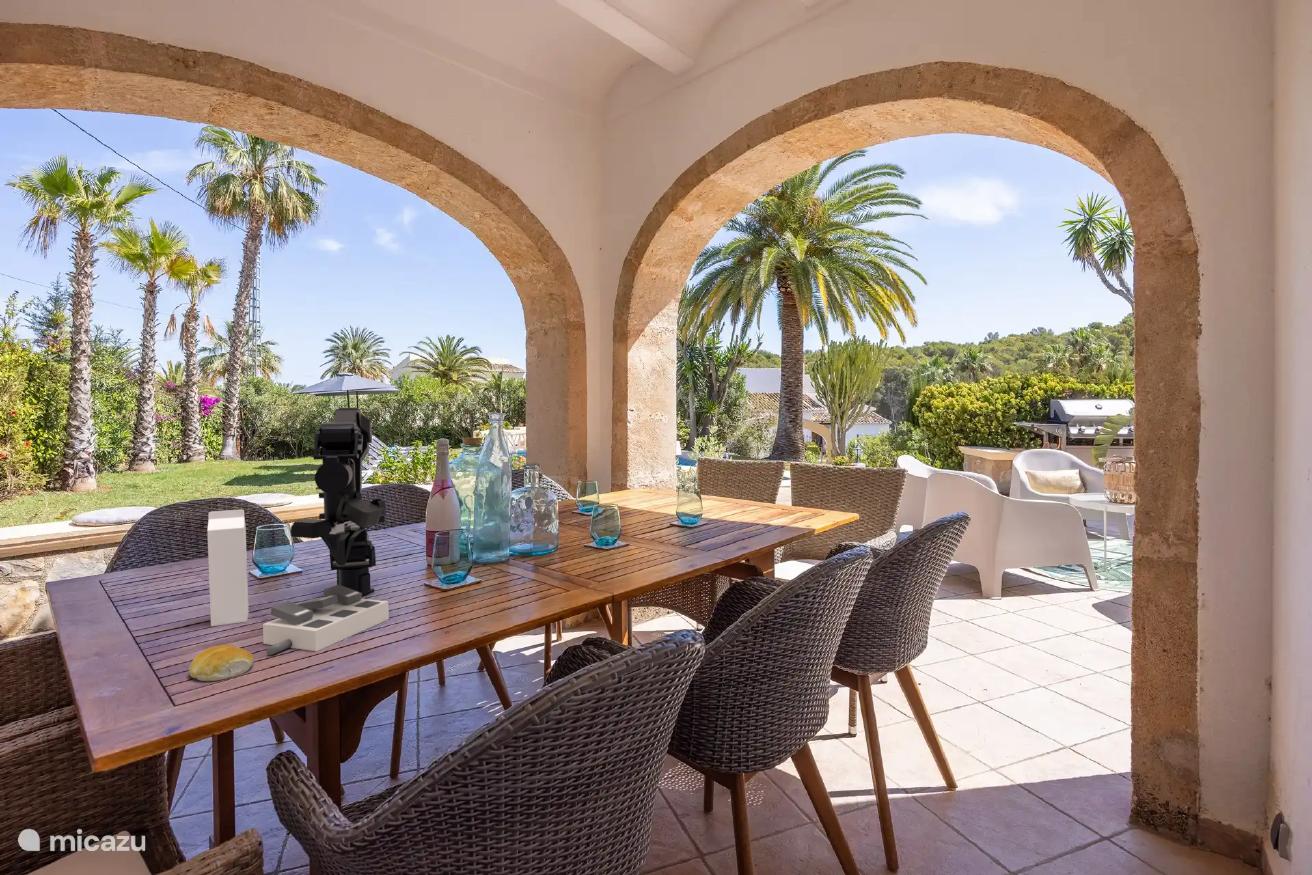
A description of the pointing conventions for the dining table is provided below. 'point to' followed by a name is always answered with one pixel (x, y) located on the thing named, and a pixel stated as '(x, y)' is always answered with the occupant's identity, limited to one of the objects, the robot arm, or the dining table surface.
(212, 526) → the milk
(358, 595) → the rocker
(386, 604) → the power strip
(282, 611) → the rocker
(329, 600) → the rocker middle
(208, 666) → the bread roll
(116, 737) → the dining table surface
